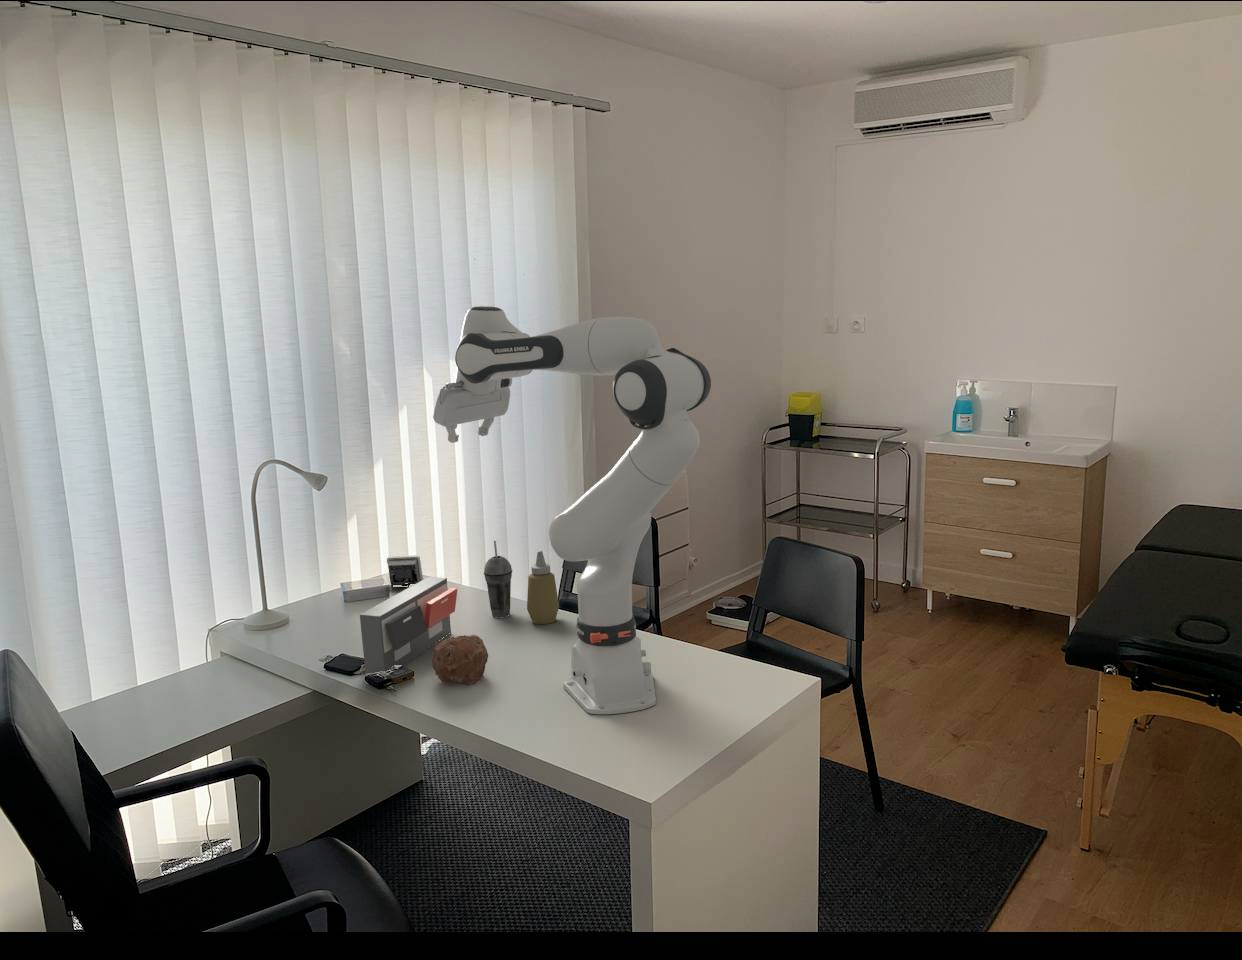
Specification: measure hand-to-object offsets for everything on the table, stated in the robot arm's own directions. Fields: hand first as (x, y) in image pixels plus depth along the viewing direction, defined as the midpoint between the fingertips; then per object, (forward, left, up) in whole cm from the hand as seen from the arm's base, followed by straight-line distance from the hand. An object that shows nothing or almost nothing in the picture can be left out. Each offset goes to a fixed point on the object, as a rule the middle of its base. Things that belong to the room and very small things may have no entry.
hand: (468, 438), depth 206 cm
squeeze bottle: (+13, -16, -49) cm, 54 cm away
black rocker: (-7, +16, -43) cm, 46 cm away
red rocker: (+5, +9, -43) cm, 44 cm away
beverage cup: (+21, -6, -49) cm, 54 cm away
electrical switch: (+55, +18, -49) cm, 76 cm away
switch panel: (+1, +17, -49) cm, 52 cm away
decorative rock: (-18, +6, -49) cm, 53 cm away
